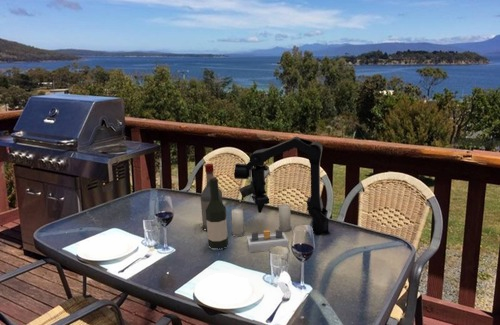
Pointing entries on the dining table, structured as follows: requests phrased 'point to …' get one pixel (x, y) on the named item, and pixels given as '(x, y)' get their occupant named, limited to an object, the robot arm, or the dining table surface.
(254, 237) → the paddle
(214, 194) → the wine bottle
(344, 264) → the dining table surface
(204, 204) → the liquor
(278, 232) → the paddle
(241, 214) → the post
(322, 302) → the dining table surface
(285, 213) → the post
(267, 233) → the block
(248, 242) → the box
